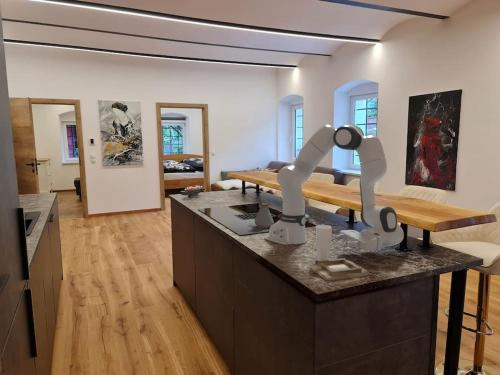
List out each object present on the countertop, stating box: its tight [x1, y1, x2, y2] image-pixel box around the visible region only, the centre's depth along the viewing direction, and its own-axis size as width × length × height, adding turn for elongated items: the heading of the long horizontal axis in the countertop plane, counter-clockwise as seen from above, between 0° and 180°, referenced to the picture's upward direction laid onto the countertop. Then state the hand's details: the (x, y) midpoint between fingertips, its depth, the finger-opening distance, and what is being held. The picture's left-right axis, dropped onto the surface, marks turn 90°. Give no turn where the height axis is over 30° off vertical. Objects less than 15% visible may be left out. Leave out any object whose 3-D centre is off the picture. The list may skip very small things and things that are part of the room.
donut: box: [305, 213, 310, 223], centre depth 229 cm, size 12×12×4 cm
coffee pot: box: [254, 197, 275, 229], centre depth 219 cm, size 21×12×15 cm, turn 9°
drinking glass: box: [314, 224, 333, 262], centre depth 154 cm, size 7×7×15 cm
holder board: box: [309, 257, 370, 282], centre depth 143 cm, size 14×18×3 cm
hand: (341, 241), depth 157 cm, fingers open, 8 cm apart
